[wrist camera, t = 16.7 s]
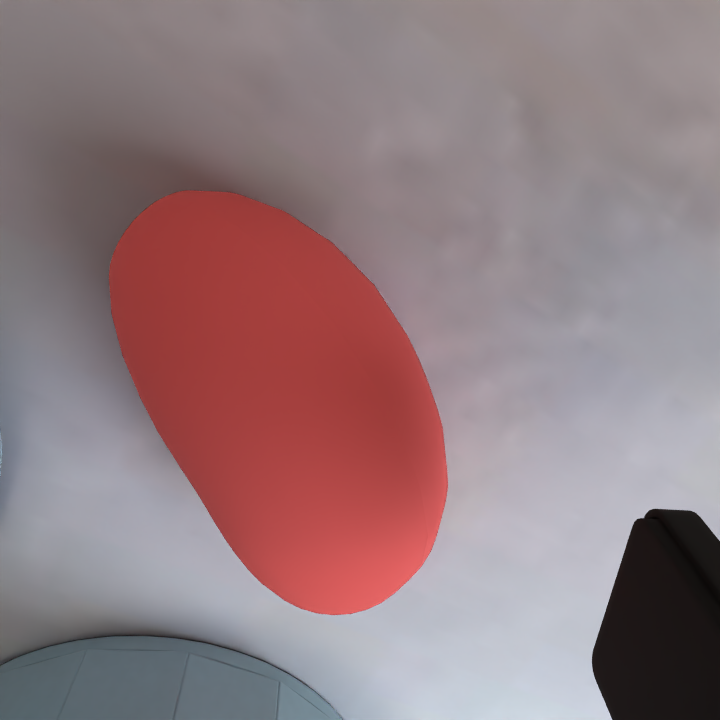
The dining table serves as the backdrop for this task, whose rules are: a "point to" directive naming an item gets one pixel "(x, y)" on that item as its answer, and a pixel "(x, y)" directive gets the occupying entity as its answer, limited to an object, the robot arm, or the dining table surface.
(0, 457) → the lid
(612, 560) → the dining table surface
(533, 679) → the dining table surface
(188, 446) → the stress ball
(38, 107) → the dining table surface
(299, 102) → the dining table surface
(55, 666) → the pot
